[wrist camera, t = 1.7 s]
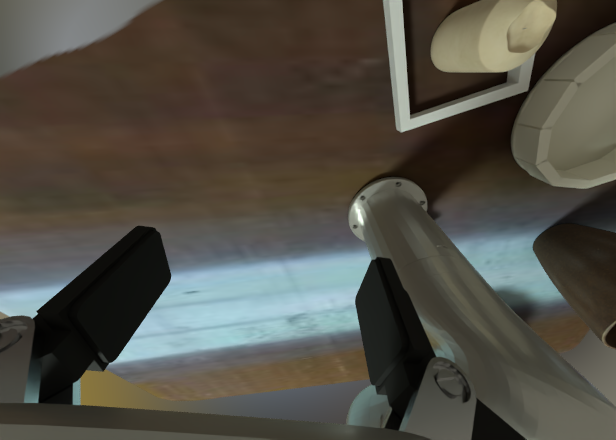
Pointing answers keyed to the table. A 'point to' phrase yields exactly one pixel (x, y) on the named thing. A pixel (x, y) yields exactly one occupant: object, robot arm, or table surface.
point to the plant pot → (583, 273)
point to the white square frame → (404, 121)
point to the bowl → (572, 117)
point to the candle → (492, 35)
